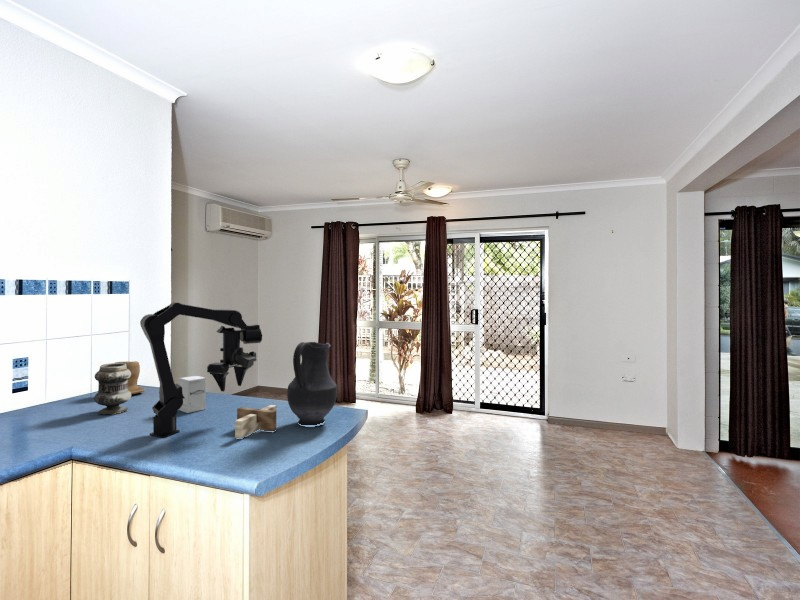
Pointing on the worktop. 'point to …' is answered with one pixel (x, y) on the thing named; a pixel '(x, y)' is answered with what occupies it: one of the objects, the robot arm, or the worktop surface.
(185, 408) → the supplement box
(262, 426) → the walnut bar
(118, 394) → the apothecary jar
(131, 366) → the curved wooden stand
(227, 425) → the worktop surface
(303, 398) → the pitcher
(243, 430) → the birch rail
